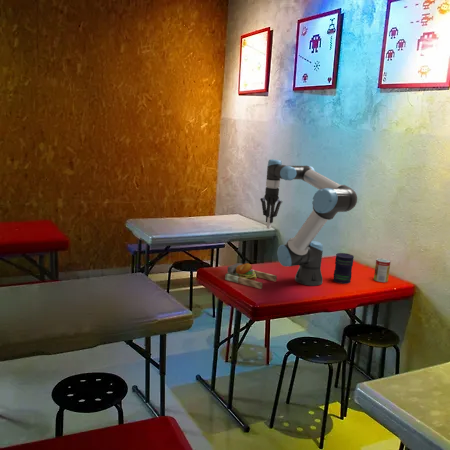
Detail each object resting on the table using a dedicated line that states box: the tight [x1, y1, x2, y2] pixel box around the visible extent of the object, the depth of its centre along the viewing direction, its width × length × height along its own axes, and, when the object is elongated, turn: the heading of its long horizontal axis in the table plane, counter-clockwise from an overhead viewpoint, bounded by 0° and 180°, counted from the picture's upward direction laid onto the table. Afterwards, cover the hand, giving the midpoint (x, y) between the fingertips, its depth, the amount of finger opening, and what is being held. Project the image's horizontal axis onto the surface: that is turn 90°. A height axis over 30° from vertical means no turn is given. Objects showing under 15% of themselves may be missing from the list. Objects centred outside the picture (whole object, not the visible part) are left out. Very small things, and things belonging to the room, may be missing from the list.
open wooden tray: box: [224, 262, 277, 290], centre depth 271 cm, size 23×18×6 cm
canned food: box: [373, 257, 391, 283], centre depth 286 cm, size 8×8×12 cm
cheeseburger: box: [236, 262, 257, 281], centre depth 272 cm, size 10×11×10 cm
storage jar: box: [332, 252, 355, 285], centre depth 279 cm, size 10×10×15 cm
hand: (268, 228), depth 283 cm, fingers closed
